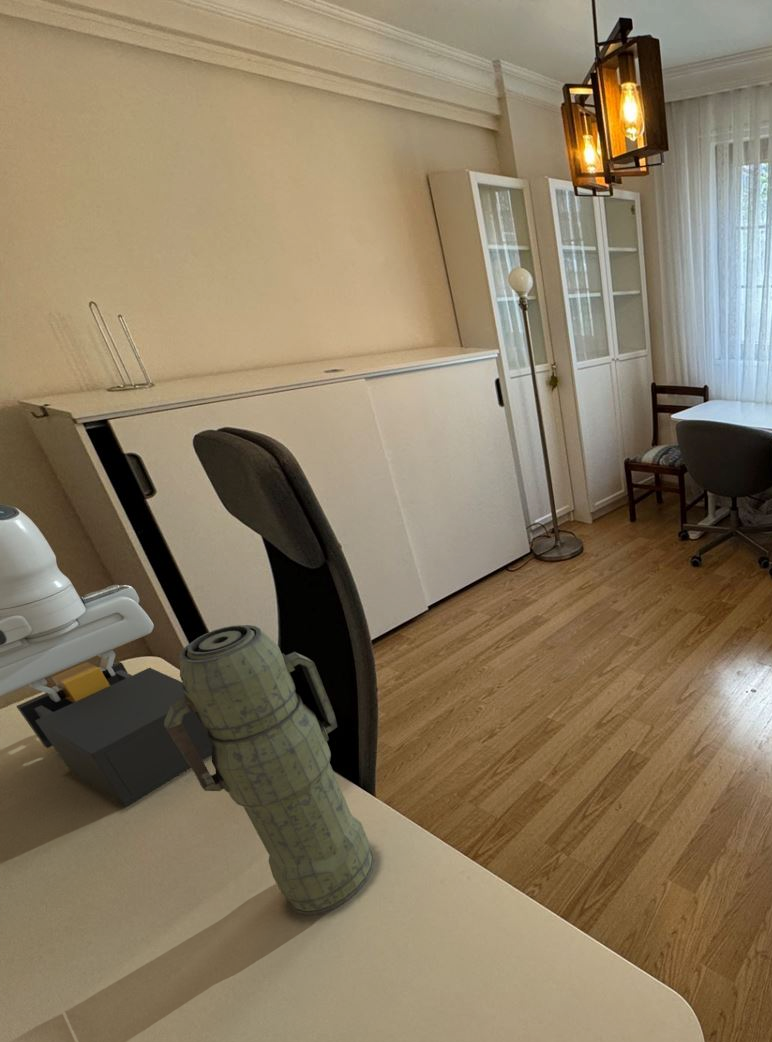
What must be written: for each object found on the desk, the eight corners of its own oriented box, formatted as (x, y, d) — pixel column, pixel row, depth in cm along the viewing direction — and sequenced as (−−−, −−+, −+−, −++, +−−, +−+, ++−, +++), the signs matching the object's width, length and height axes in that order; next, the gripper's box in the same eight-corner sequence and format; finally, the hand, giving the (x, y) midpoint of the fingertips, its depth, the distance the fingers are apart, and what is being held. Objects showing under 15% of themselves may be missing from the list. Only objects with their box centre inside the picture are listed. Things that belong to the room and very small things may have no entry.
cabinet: (70, 771, 83) (34, 720, 79) (176, 715, 94) (149, 667, 89) (126, 807, 77) (90, 753, 73) (231, 742, 88) (206, 692, 83)
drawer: (31, 737, 88) (3, 698, 84) (126, 692, 98) (105, 655, 94) (90, 775, 81) (62, 733, 77) (187, 721, 91) (166, 683, 87)
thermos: (259, 902, 65) (118, 658, 50) (362, 825, 74) (268, 599, 59) (296, 944, 60) (153, 691, 46) (400, 857, 69) (310, 622, 55)
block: (64, 698, 85) (51, 677, 83) (99, 682, 88) (86, 662, 87) (77, 704, 84) (63, 683, 82) (112, 688, 87) (99, 668, 85)
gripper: (119, 575, 90) (157, 646, 95) (-83, 644, 73) (-23, 725, 78) (139, 583, 87) (177, 654, 93) (-65, 655, 70) (-3, 738, 76)
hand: (84, 687), depth 86 cm, fingers closed on block, 4 cm apart
